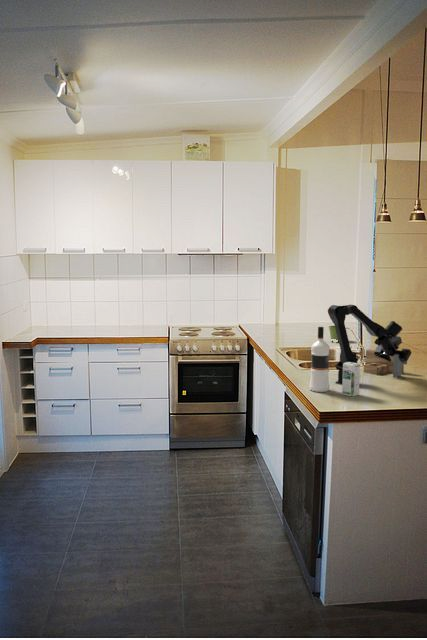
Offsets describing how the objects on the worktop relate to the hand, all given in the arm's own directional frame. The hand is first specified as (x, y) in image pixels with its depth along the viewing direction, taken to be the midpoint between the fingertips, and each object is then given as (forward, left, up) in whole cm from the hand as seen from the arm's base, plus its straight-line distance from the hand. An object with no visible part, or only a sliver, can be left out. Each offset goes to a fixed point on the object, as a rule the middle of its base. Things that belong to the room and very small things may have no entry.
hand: (398, 362), depth 279 cm
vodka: (-54, +7, -8) cm, 55 cm away
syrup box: (-49, -7, -8) cm, 50 cm away
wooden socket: (+1, +13, -7) cm, 15 cm away
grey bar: (-1, 0, -7) cm, 7 cm away
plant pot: (+61, +89, -8) cm, 108 cm away
